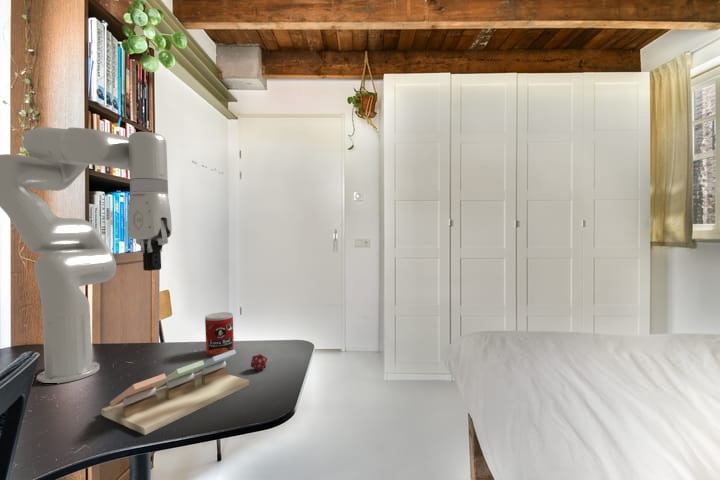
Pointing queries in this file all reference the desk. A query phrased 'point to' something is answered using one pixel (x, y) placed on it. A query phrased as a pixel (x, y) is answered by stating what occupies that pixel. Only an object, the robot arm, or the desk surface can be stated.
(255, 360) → the dice
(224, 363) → the tile
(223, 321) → the canned food
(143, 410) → the board
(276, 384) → the desk surface
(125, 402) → the tile
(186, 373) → the tile
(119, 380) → the desk surface
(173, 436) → the desk surface
